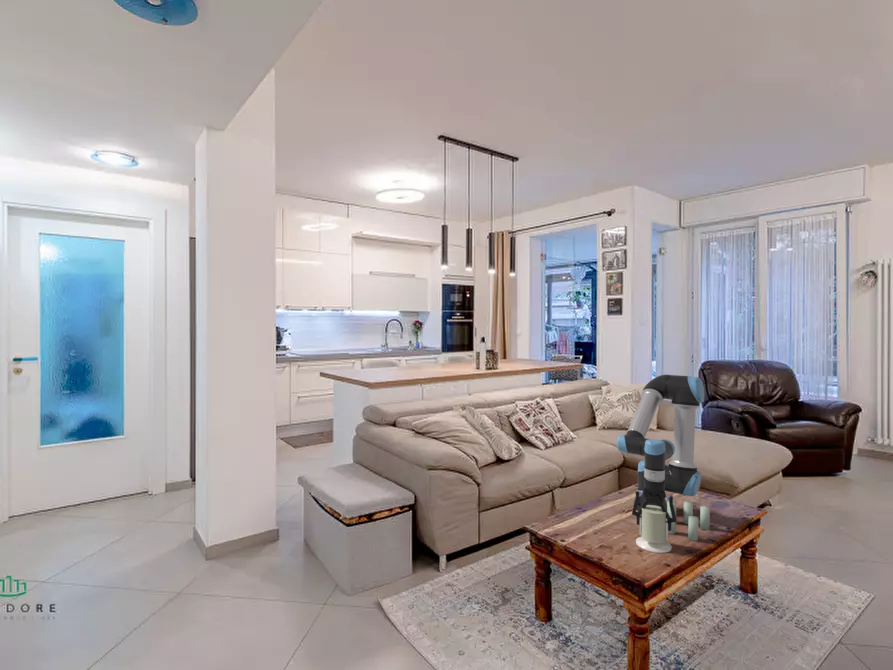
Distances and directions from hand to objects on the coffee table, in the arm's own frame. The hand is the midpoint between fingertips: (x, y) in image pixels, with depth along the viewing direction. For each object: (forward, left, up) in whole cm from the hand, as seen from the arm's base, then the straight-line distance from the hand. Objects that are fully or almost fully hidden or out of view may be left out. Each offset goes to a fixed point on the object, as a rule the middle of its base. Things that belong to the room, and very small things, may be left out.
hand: (653, 535), depth 186 cm
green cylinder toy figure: (0, 0, -1) cm, 1 cm away
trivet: (0, 0, -4) cm, 4 cm away
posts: (+12, +22, -4) cm, 25 cm away
